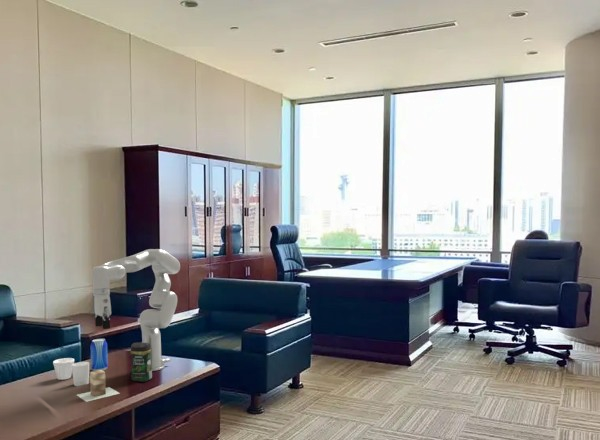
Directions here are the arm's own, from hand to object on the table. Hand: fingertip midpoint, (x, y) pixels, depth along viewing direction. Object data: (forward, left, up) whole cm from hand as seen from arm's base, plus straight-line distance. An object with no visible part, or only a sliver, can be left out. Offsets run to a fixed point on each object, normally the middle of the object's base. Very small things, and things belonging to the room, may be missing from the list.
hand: (102, 327), depth 251 cm
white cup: (+7, -12, -28) cm, 32 cm away
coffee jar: (-17, +4, -28) cm, 33 cm away
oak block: (+8, +14, -22) cm, 27 cm away
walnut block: (+8, +14, -27) cm, 32 cm away
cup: (+10, -29, -28) cm, 42 cm away
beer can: (-9, -32, -28) cm, 44 cm away
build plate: (+8, +14, -28) cm, 33 cm away
